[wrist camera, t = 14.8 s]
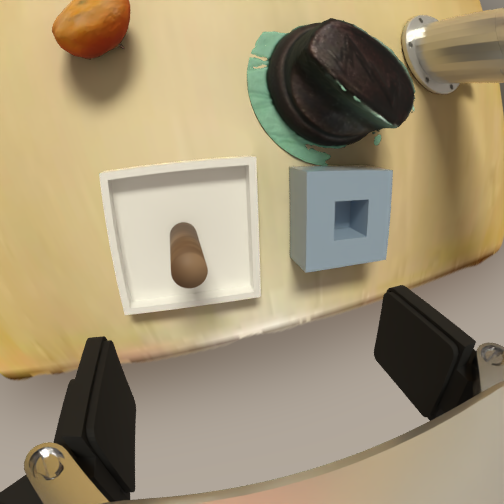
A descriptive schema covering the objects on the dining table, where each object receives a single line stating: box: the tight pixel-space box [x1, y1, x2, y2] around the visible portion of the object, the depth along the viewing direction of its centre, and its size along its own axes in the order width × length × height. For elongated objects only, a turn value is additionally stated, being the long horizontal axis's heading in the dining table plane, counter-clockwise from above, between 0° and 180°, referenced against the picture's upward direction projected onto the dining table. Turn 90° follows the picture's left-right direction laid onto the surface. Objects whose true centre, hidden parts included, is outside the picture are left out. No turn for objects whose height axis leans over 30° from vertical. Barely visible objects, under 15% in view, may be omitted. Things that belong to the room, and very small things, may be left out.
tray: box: [99, 156, 261, 315], centre depth 35 cm, size 16×16×2 cm
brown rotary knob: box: [247, 18, 415, 166], centre depth 30 cm, size 20×20×9 cm
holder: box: [289, 165, 393, 273], centre depth 37 cm, size 11×11×5 cm
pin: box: [170, 222, 208, 288], centre depth 30 cm, size 3×3×10 cm
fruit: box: [52, 0, 130, 59], centre depth 23 cm, size 8×8×8 cm
